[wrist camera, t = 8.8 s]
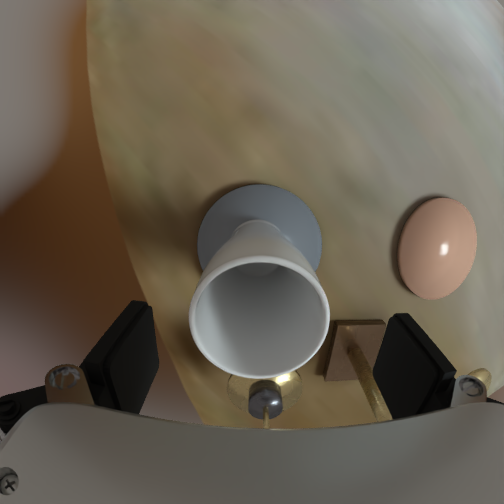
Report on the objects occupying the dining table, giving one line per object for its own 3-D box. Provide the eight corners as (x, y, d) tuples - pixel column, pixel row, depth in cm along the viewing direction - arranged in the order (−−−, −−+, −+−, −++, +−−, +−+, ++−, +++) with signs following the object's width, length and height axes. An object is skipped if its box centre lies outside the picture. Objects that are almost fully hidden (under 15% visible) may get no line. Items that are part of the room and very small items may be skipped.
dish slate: (200, 181, 27) (198, 181, 26) (325, 189, 27) (327, 189, 26) (199, 297, 30) (197, 301, 29) (312, 303, 30) (313, 307, 29)
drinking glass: (209, 230, 27) (159, 293, 12) (274, 198, 26) (299, 227, 12) (241, 290, 28) (229, 396, 14) (303, 262, 28) (349, 349, 13)
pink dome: (405, 190, 27) (409, 190, 26) (478, 205, 27) (482, 206, 26) (387, 296, 30) (391, 300, 29) (460, 295, 30) (464, 298, 29)
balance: (233, 316, 30) (213, 459, 13) (450, 316, 30) (533, 394, 13) (231, 373, 32) (217, 506, 15) (432, 364, 33) (495, 449, 15)
